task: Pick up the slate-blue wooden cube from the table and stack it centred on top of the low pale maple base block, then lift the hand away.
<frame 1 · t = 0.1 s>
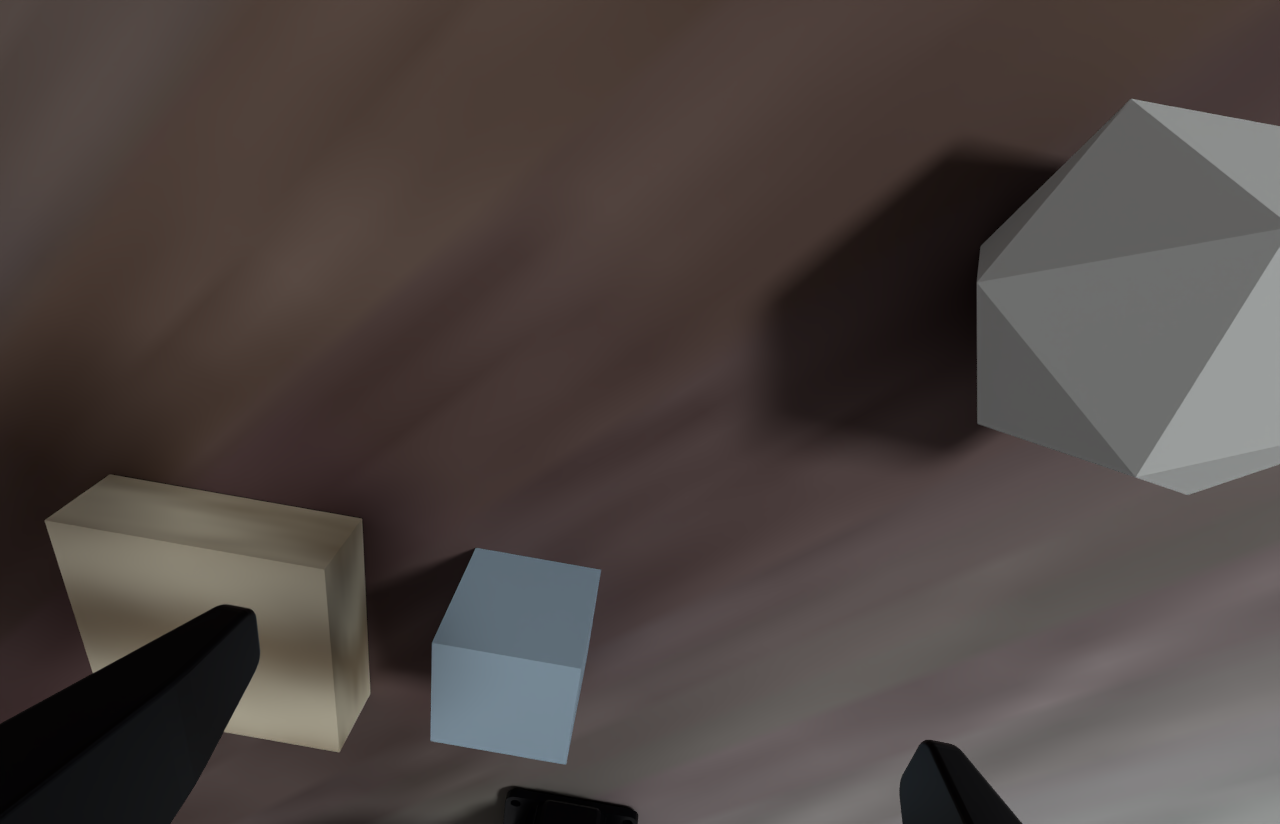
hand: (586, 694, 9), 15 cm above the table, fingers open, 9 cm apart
slate block: (533, 604, 28), on the table
die: (1078, 264, 20), on the table
maple base: (250, 592, 29), on the table
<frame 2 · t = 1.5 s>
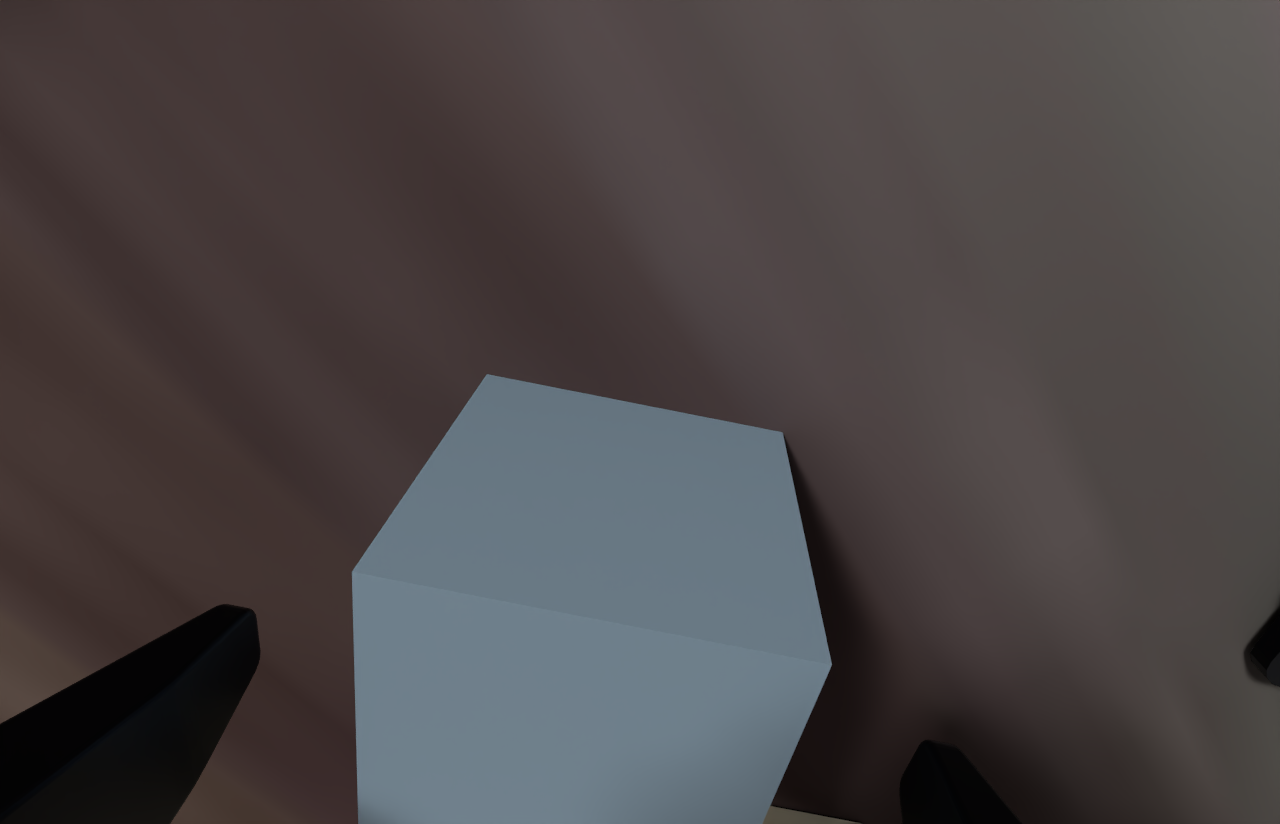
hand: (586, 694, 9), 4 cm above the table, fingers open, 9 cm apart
slate block: (612, 520, 13), on the table
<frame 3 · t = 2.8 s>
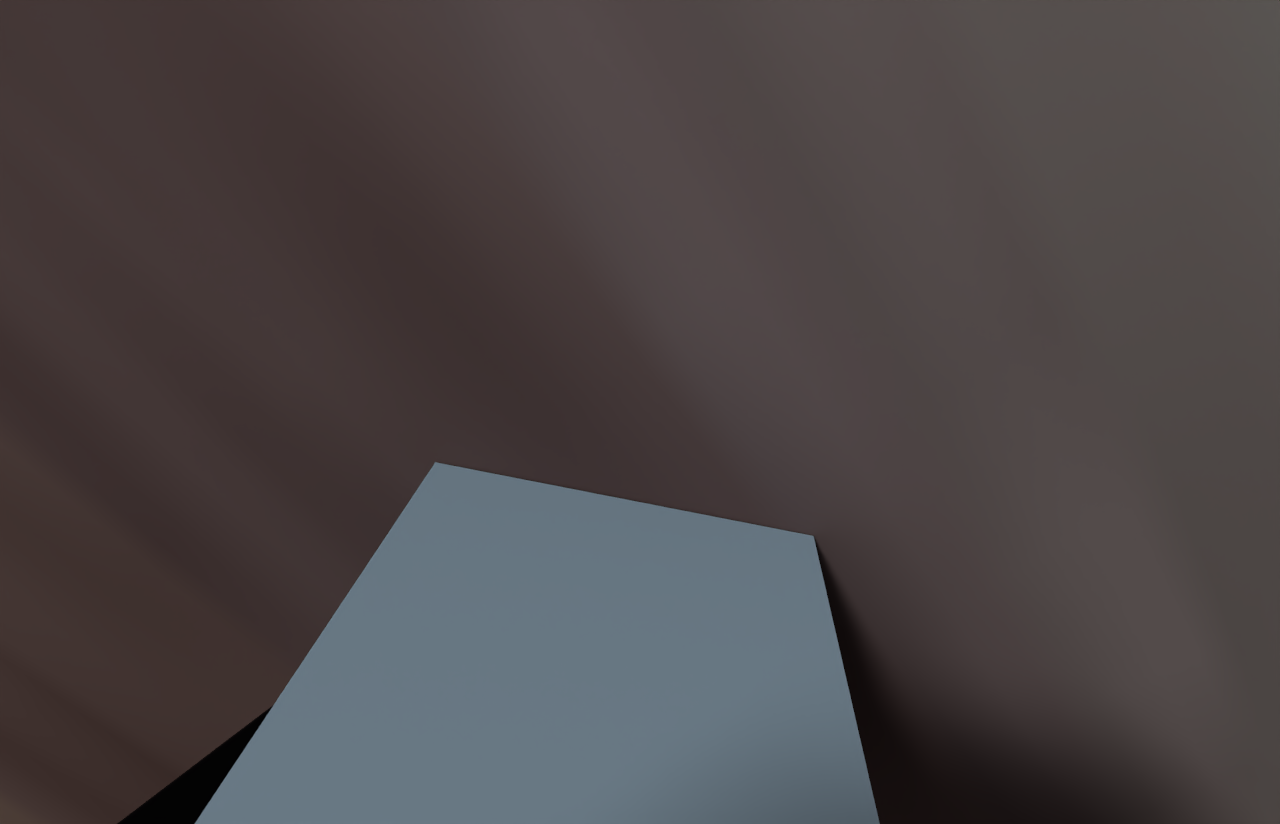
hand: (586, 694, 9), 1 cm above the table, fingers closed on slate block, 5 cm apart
slate block: (596, 637, 10), on the table, touching gripper
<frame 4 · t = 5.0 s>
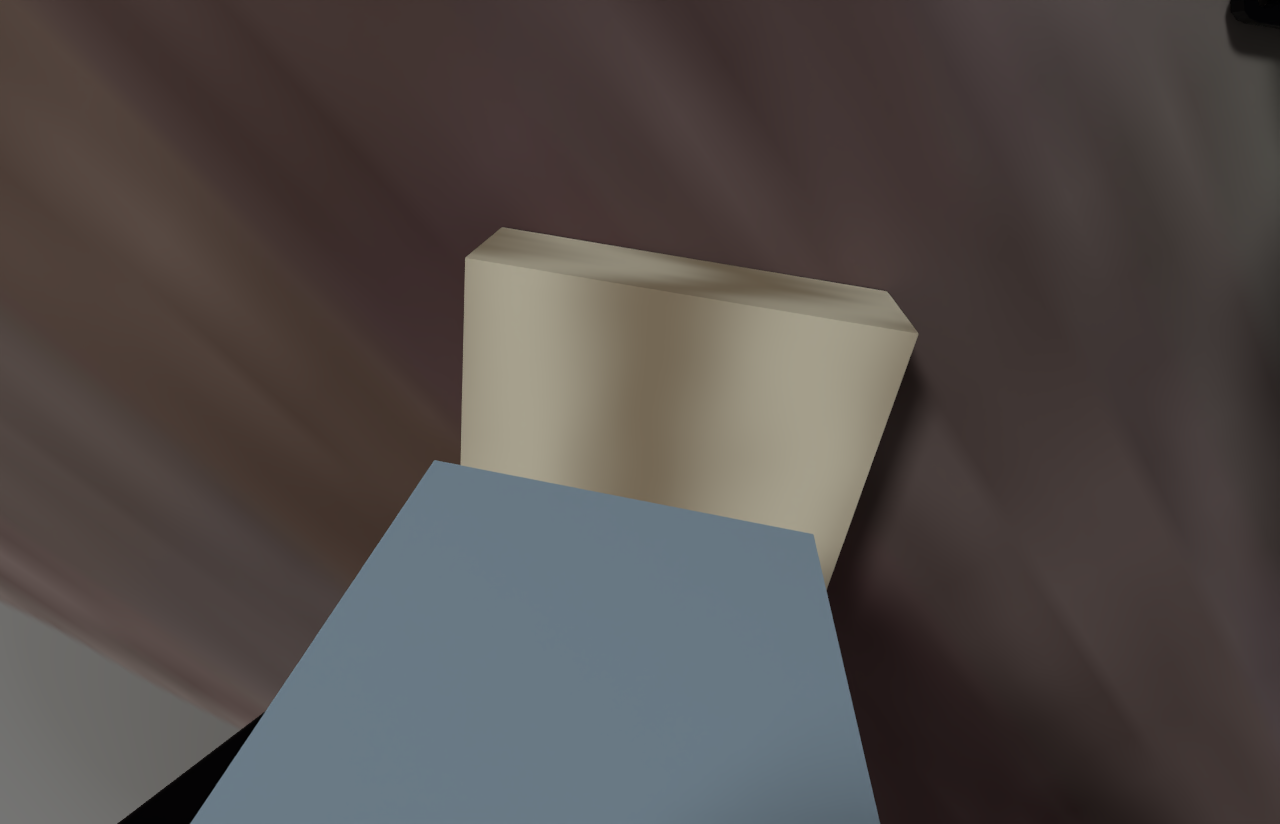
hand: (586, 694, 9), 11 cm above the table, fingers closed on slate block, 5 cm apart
slate block: (596, 635, 10), point 10 cm above the table, touching gripper
maple base: (663, 427, 20), on the table
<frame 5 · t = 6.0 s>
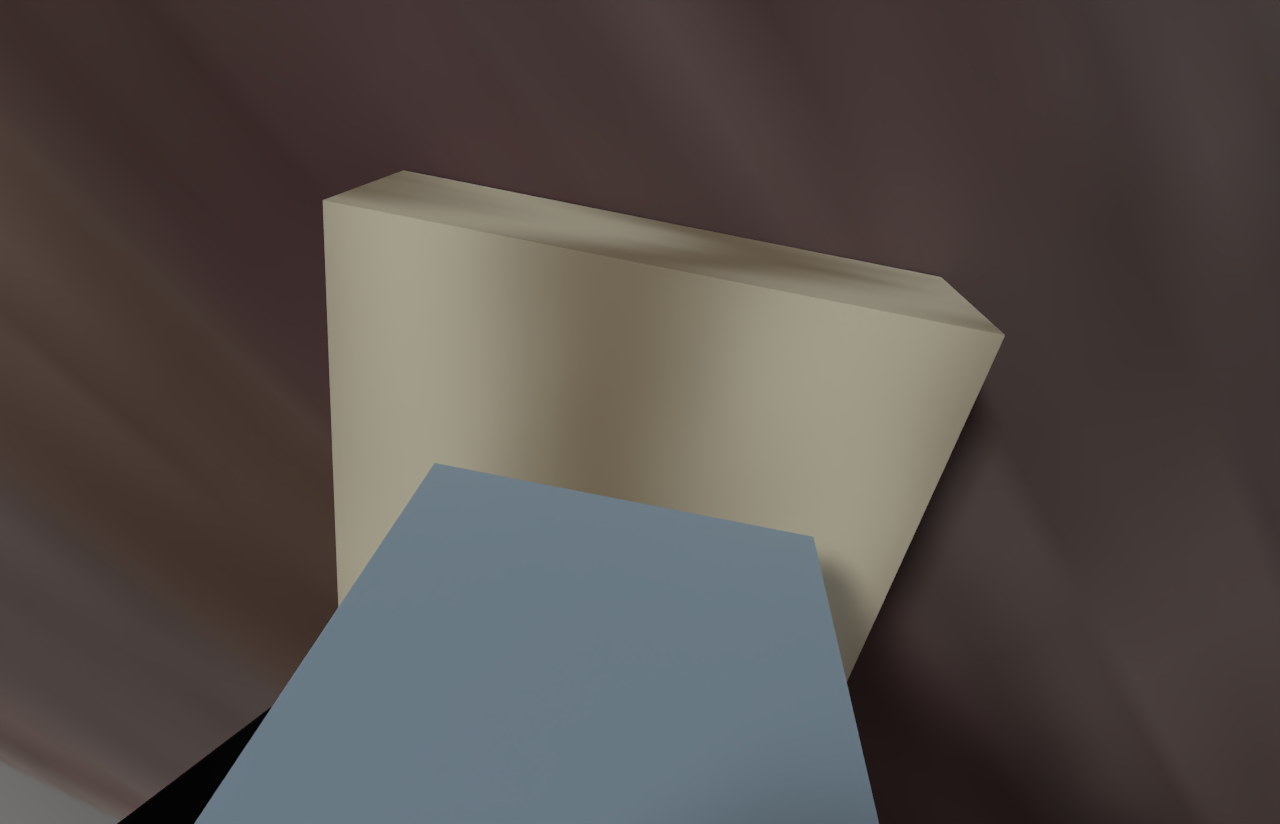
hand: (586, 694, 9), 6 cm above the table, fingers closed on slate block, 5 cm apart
slate block: (596, 638, 10), point 5 cm above the table, touching gripper
maple base: (627, 454, 15), on the table
when the fingers open (5 cm above the table, at t = 7.0 s): slate block drops 1 cm, resting on maple base.
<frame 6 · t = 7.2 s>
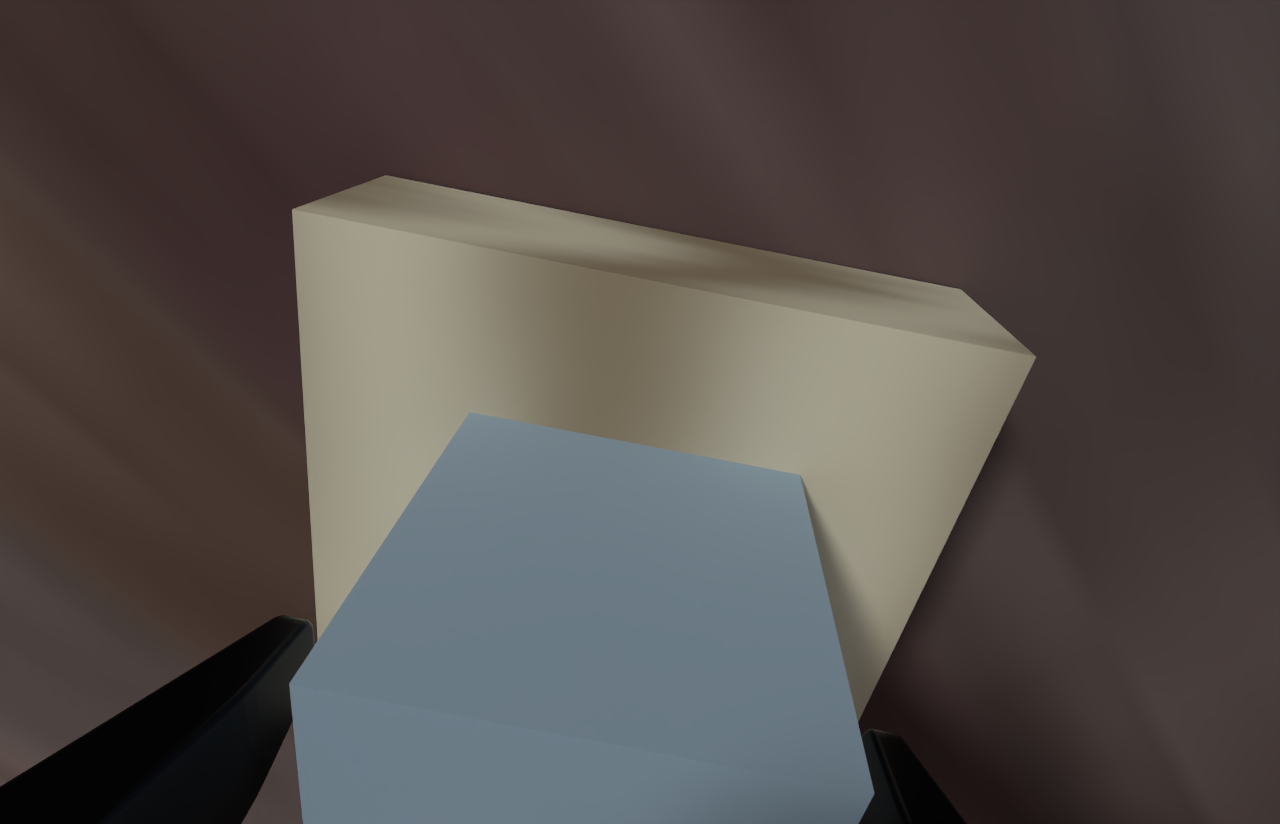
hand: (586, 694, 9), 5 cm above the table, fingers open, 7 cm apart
slate block: (610, 571, 11), point 3 cm above the table, touching maple base
maple base: (625, 474, 14), on the table
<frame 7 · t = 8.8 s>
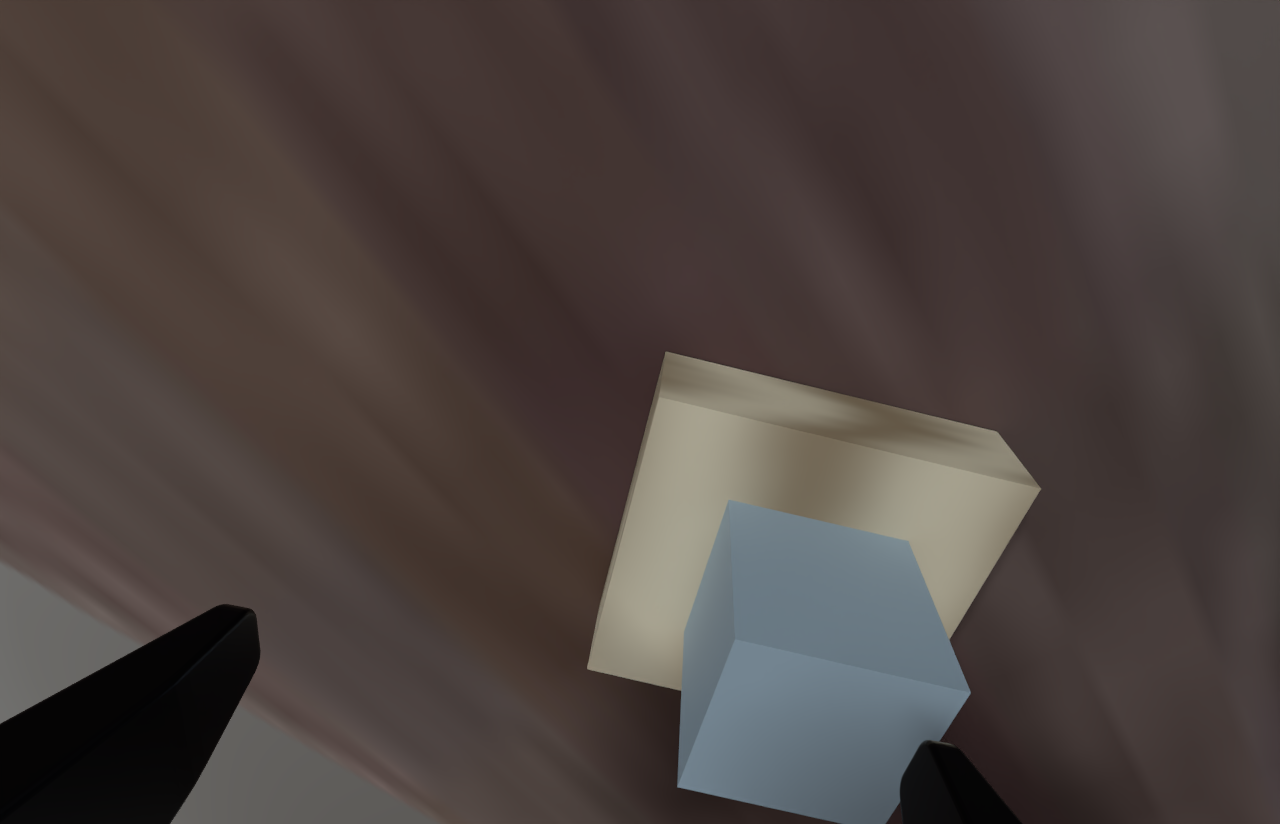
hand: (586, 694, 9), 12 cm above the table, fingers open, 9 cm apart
slate block: (789, 588, 20), point 3 cm above the table, touching maple base
maple base: (778, 525, 22), on the table
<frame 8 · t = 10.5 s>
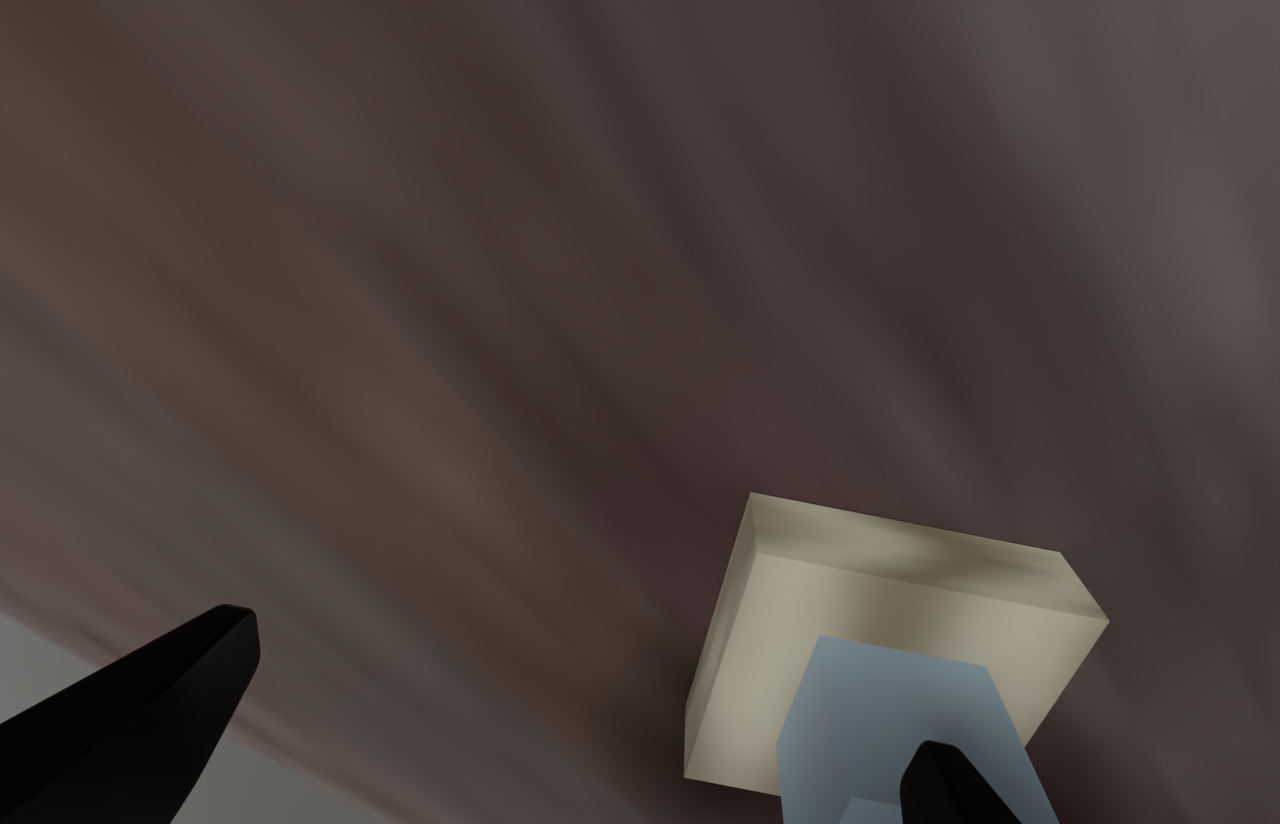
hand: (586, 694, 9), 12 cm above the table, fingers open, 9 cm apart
slate block: (875, 707, 21), point 3 cm above the table, touching maple base
maple base: (855, 635, 24), on the table
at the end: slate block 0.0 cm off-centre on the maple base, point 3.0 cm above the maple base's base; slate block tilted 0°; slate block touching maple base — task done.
